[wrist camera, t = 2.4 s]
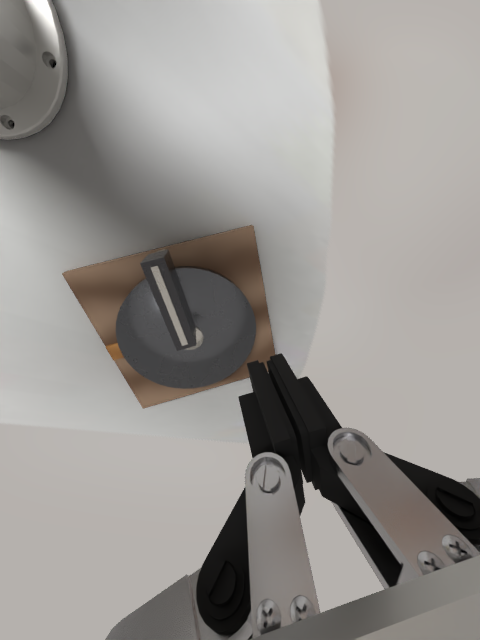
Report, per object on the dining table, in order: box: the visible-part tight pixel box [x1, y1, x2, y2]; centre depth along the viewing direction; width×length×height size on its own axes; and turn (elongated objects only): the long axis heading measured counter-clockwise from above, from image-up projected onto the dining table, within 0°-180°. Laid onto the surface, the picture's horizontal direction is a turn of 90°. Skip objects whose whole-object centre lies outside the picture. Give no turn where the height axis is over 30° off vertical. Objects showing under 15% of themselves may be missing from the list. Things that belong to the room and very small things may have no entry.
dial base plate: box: [62, 225, 275, 408], centre depth 29 cm, size 20×20×1 cm
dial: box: [116, 249, 256, 389], centre depth 25 cm, size 18×16×5 cm
